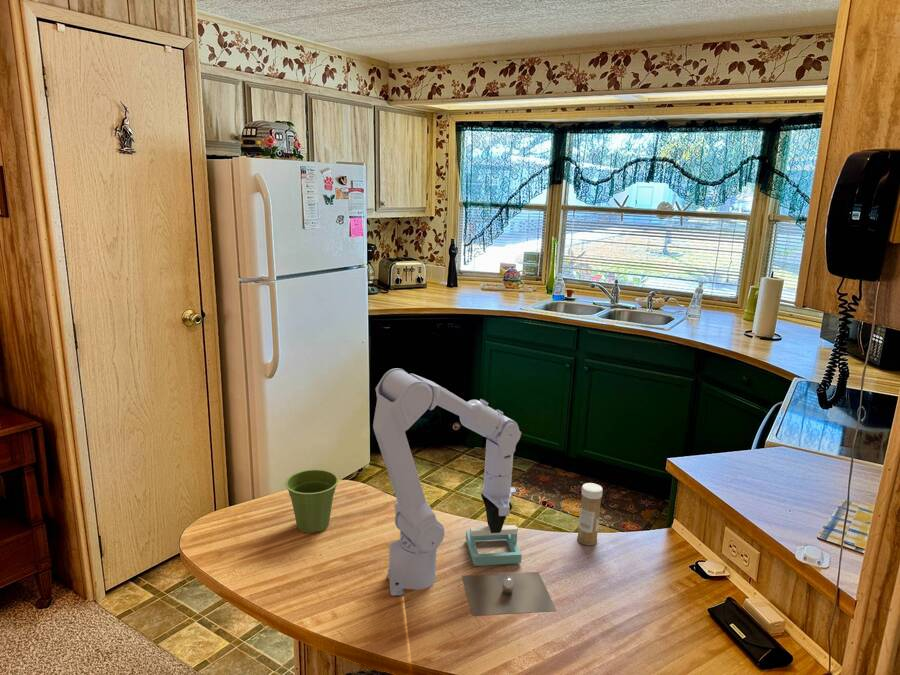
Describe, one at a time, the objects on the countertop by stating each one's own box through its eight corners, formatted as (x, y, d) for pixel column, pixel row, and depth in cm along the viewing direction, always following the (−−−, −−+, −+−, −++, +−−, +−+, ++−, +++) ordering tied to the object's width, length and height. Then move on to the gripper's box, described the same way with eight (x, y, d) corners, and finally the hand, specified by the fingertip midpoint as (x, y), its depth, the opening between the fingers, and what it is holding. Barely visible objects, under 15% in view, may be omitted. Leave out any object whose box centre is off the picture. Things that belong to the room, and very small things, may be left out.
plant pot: (289, 512, 147) (289, 469, 144) (340, 511, 148) (340, 468, 145) (282, 540, 135) (281, 493, 133) (336, 539, 137) (336, 493, 134)
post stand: (472, 620, 113) (473, 601, 112) (461, 580, 124) (462, 562, 123) (556, 615, 115) (558, 596, 114) (538, 576, 127) (539, 558, 126)
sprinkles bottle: (601, 542, 140) (607, 488, 137) (586, 548, 137) (592, 493, 134) (586, 533, 144) (592, 480, 140) (572, 538, 141) (577, 484, 138)
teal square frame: (473, 565, 127) (475, 542, 125) (465, 538, 136) (466, 516, 135) (521, 563, 128) (522, 539, 127) (509, 536, 138) (511, 514, 137)
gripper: (526, 486, 122) (521, 547, 125) (508, 455, 135) (504, 511, 139) (491, 487, 120) (487, 549, 124) (477, 456, 134) (474, 512, 138)
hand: (494, 529), depth 131 cm, fingers closed on teal square frame
